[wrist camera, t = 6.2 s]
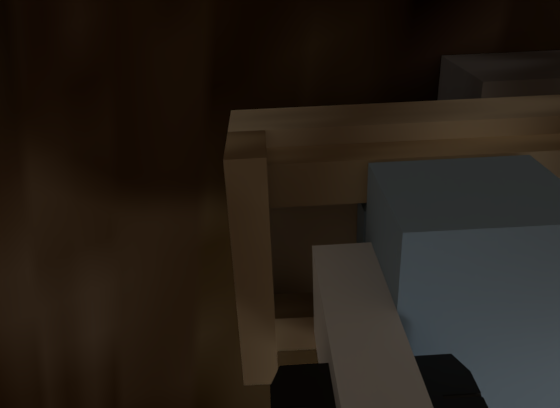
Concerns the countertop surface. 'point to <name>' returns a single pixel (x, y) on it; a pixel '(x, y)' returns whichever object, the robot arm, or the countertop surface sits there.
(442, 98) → the brown wooden crate
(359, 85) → the countertop surface
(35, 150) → the countertop surface
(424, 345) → the blue-grey rectangular block
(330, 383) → the robot arm
